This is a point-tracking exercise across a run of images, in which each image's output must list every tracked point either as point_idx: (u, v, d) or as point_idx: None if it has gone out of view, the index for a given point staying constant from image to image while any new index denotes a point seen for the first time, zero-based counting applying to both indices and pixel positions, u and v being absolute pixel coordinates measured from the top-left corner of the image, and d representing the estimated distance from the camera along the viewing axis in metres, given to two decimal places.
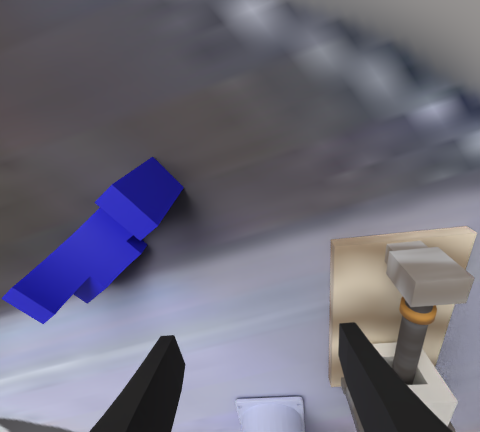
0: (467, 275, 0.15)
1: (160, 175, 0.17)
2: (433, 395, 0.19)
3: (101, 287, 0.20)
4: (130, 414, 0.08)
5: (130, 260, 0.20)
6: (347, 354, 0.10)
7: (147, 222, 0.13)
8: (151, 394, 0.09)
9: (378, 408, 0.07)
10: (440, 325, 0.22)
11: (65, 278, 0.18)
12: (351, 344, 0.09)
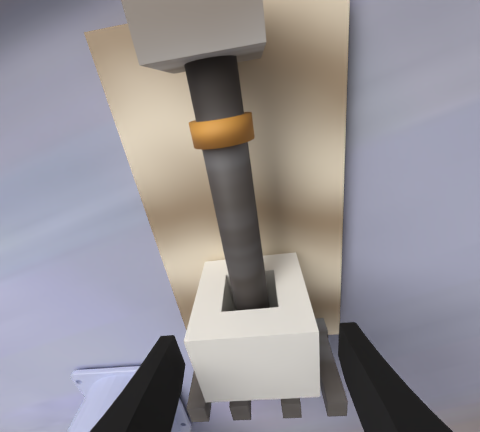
0: None
1: None
2: (278, 323, 0.10)
3: None
4: (130, 414, 0.08)
5: None
6: (347, 354, 0.10)
7: None
8: (151, 394, 0.09)
9: (378, 408, 0.07)
10: (330, 221, 0.13)
11: None
12: (351, 344, 0.09)
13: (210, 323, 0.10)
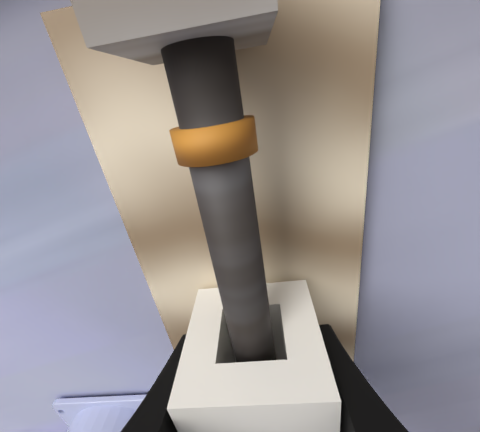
0: None
1: None
2: (287, 385, 0.07)
3: None
4: (161, 413, 0.08)
5: None
6: None
7: None
8: None
9: (342, 409, 0.08)
10: (347, 244, 0.11)
11: None
12: None
13: (201, 381, 0.08)
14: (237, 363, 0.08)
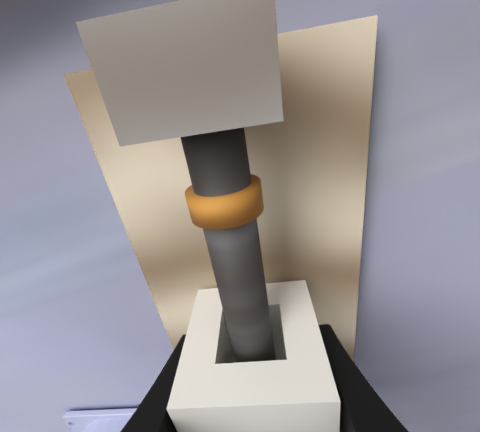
0: None
1: None
2: (287, 385, 0.08)
3: None
4: (161, 413, 0.08)
5: None
6: None
7: None
8: None
9: (342, 409, 0.08)
10: (345, 273, 0.12)
11: None
12: None
13: (201, 381, 0.08)
14: (237, 363, 0.08)
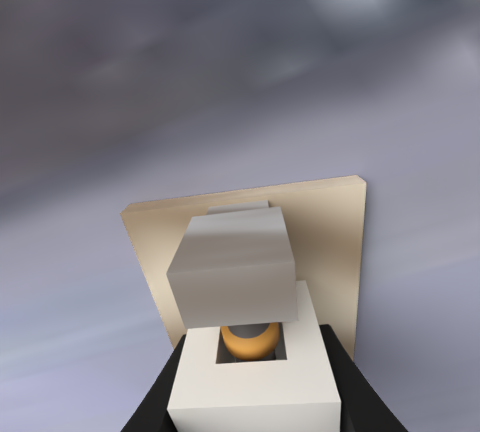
0: (284, 256, 0.06)
1: None
2: (287, 385, 0.08)
3: None
4: (161, 413, 0.08)
5: None
6: None
7: None
8: None
9: (342, 409, 0.08)
10: None
11: None
12: None
13: (201, 381, 0.08)
14: (237, 363, 0.08)
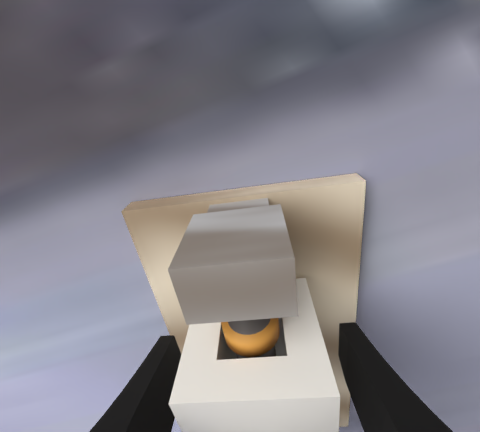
0: (284, 252, 0.06)
1: None
2: (287, 381, 0.08)
3: None
4: (130, 414, 0.08)
5: None
6: (347, 354, 0.10)
7: None
8: (151, 394, 0.09)
9: (378, 408, 0.07)
10: None
11: None
12: (351, 344, 0.09)
13: (202, 377, 0.08)
14: (238, 359, 0.08)
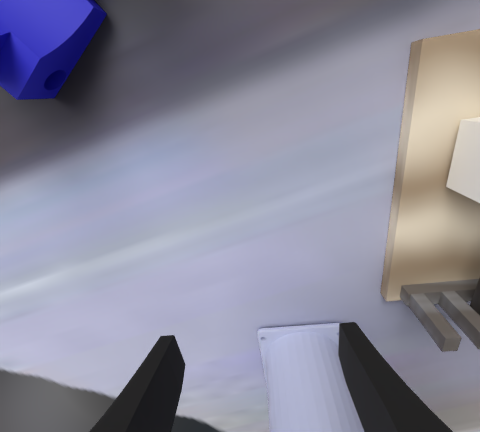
0: None
1: None
2: None
3: (32, 58, 0.12)
4: (130, 414, 0.08)
5: (77, 21, 0.13)
6: (347, 354, 0.10)
7: None
8: (151, 394, 0.09)
9: (378, 408, 0.07)
10: None
11: None
12: (351, 344, 0.09)
13: None
14: None
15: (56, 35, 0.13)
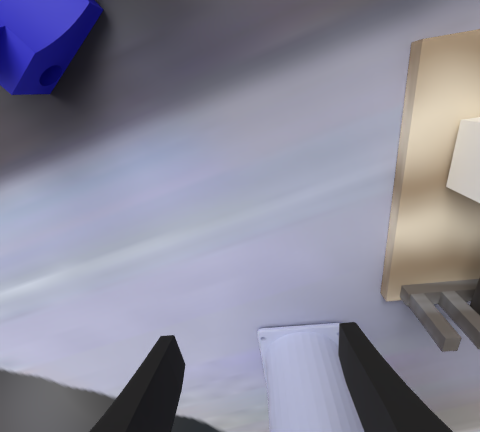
0: None
1: None
2: None
3: (27, 52, 0.12)
4: (130, 414, 0.08)
5: (73, 16, 0.13)
6: (347, 354, 0.10)
7: None
8: (151, 394, 0.09)
9: (378, 408, 0.07)
10: None
11: None
12: (351, 344, 0.09)
13: None
14: None
15: (51, 30, 0.13)
